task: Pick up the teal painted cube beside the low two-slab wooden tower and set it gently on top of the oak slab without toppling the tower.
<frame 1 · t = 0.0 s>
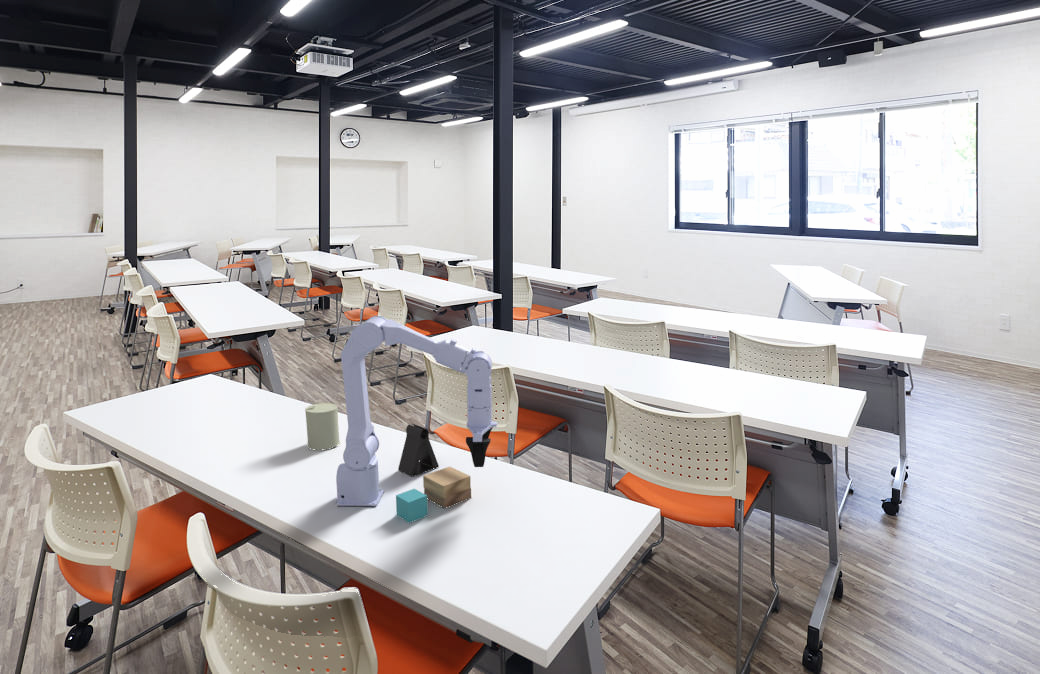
hand: (480, 460, 146), 10 cm above the table, tool pointing down, fingers open, 7 cm apart
can: (323, 445, 183), on the table
phone stand: (418, 469, 166), on the table
tower base: (447, 499, 149), on the table
tower top: (447, 487, 149), point 3 cm above the table
teal cube: (412, 515, 140), on the table
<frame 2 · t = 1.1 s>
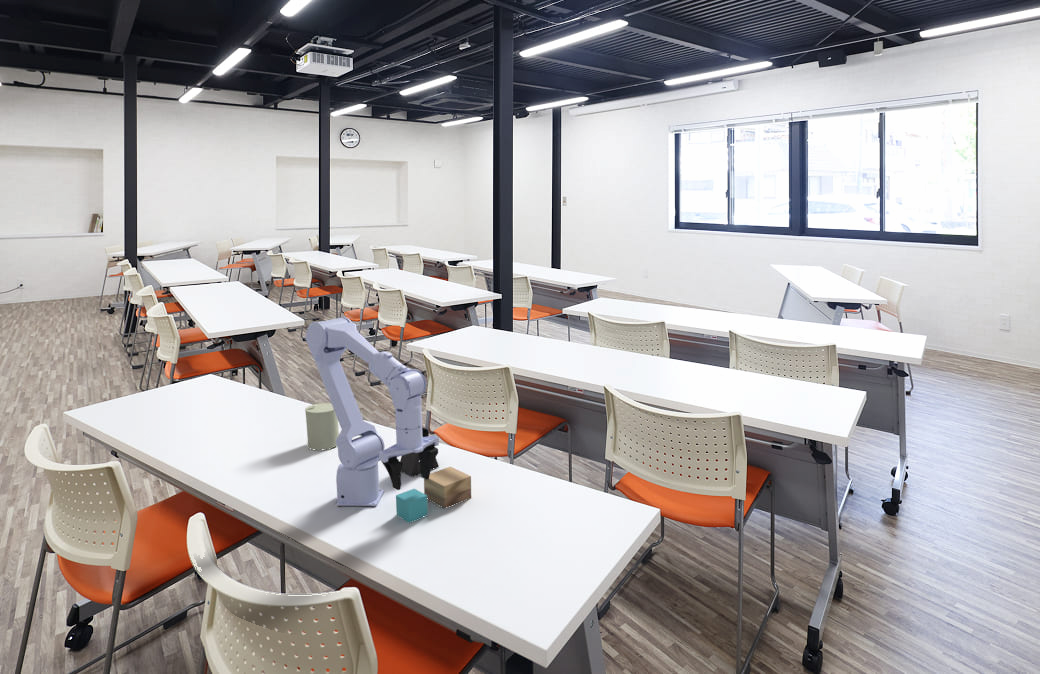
hand: (411, 483, 139), 8 cm above the table, tool pointing down, fingers open, 7 cm apart
nothing on the table moved.
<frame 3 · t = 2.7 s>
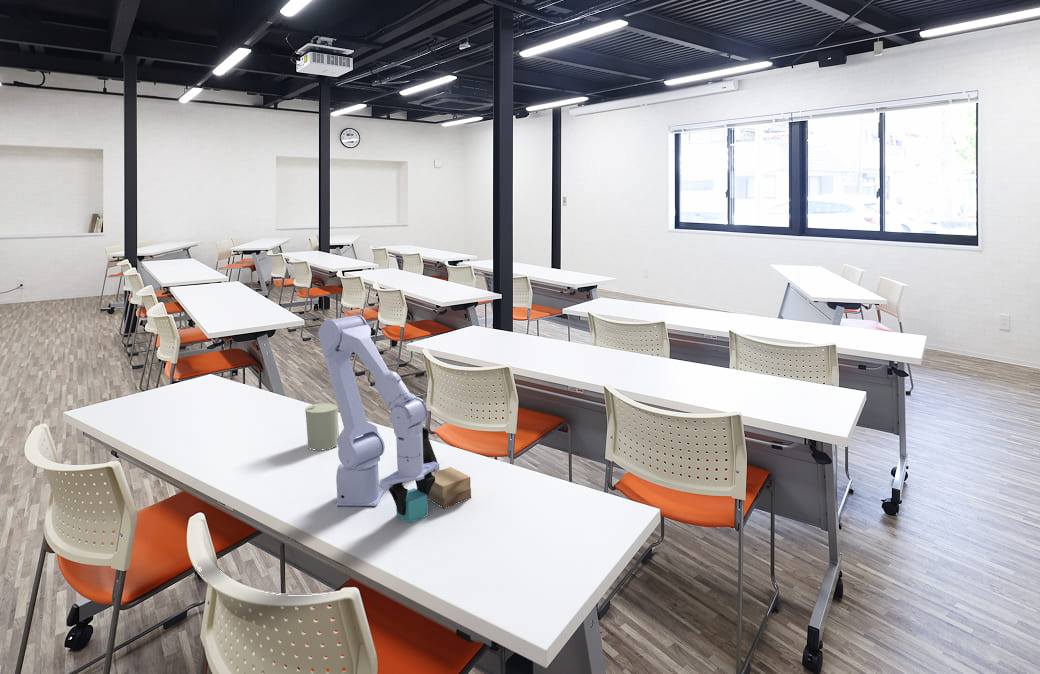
hand: (412, 509, 140), 1 cm above the table, tool pointing down, fingers closed on teal cube, 5 cm apart
tower base: (447, 499, 149), on the table, touching tower top
tower top: (447, 488, 148), point 2 cm above the table, touching tower base
teal cube: (412, 515, 140), on the table, touching gripper
everything else where it was.
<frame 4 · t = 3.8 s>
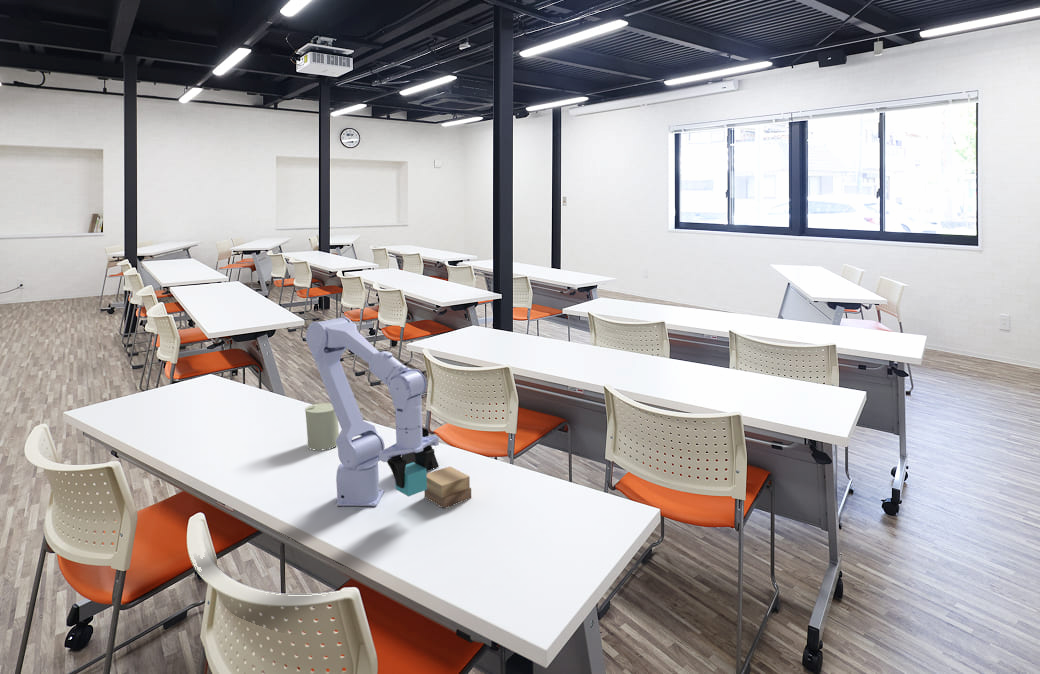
hand: (410, 482, 139), 8 cm above the table, tool pointing down, fingers closed on teal cube, 5 cm apart
teal cube: (411, 489, 139), point 6 cm above the table, touching gripper
everything else where it was.
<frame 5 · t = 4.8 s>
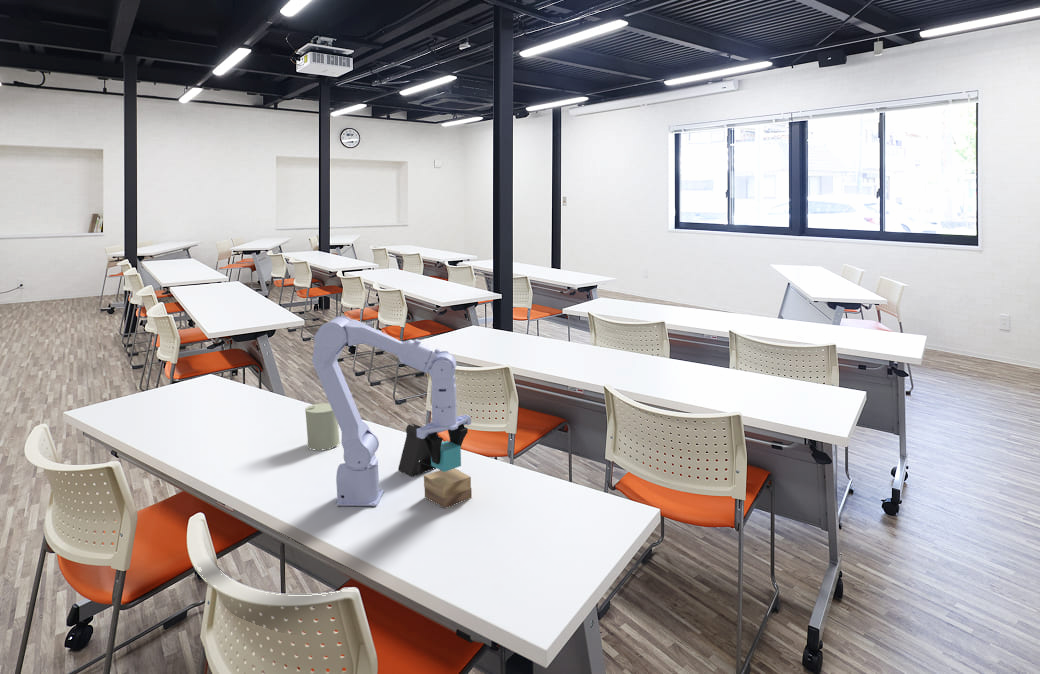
hand: (445, 459, 147), 10 cm above the table, tool pointing down, fingers closed on teal cube, 5 cm apart
teal cube: (446, 465, 147), point 8 cm above the table, touching gripper
everything else where it was.
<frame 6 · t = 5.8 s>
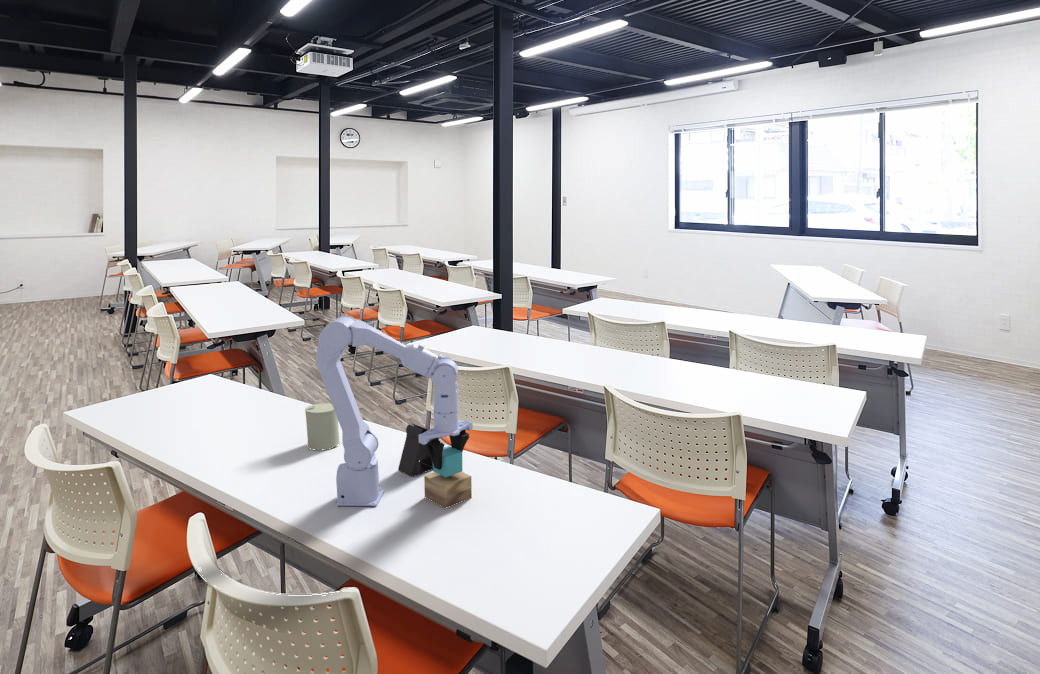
hand: (447, 464, 147), 8 cm above the table, tool pointing down, fingers closed on teal cube, 5 cm apart
teal cube: (447, 471, 148), point 7 cm above the table, touching gripper
everything else where it was.
when the fingers open (8 cm above the table, at t = 6.4 s): teal cube drops 1 cm, resting on tower top.
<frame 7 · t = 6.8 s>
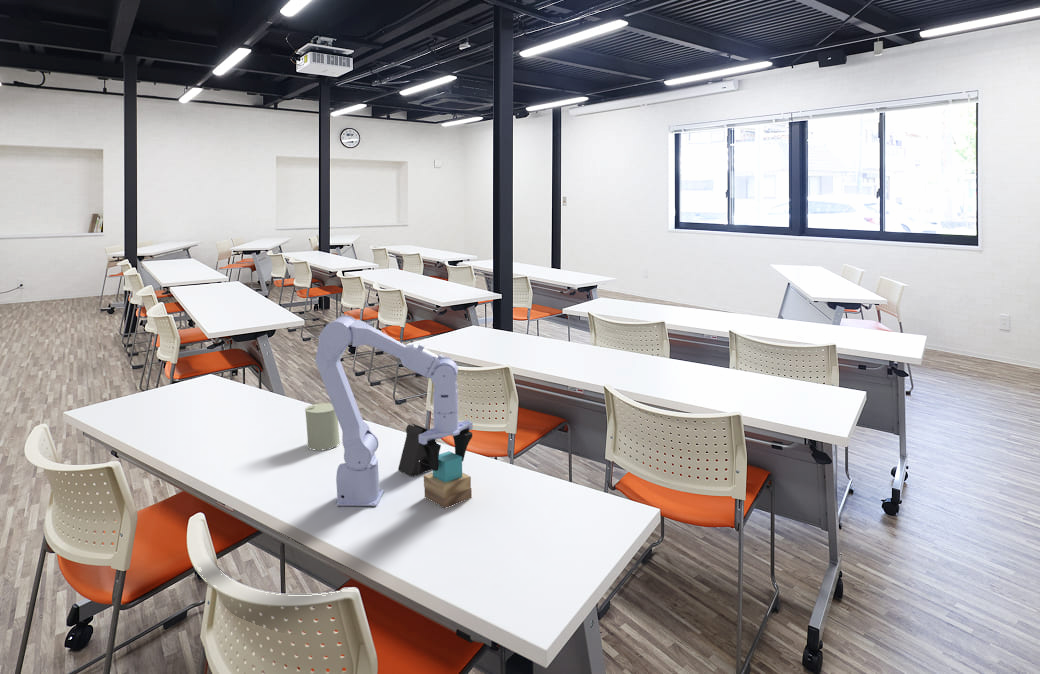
hand: (447, 464, 147), 8 cm above the table, tool pointing down, fingers open, 7 cm apart
tower top: (447, 487, 149), point 3 cm above the table, touching teal cube, tower base
teal cube: (447, 476, 148), point 6 cm above the table, touching tower top
everything else where it was.
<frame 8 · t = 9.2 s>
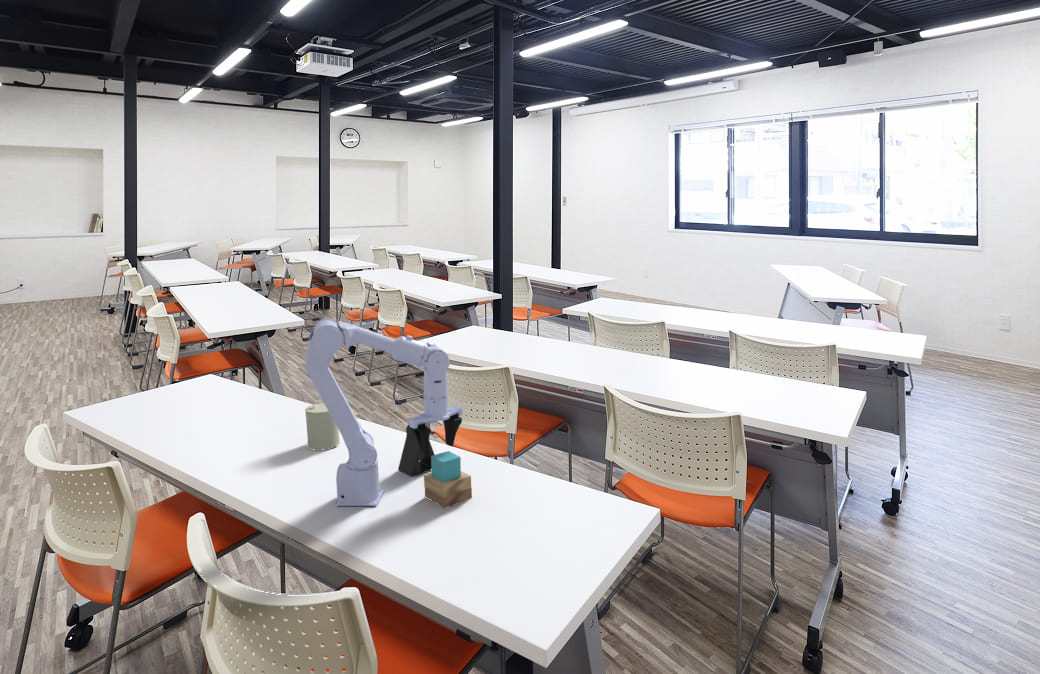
hand: (437, 449, 152), 10 cm above the table, tool pointing down, fingers open, 7 cm apart
nothing on the table moved.
at the end: teal cube 0.4 cm off-centre on the tower top, point 3.0 cm above the tower top's base; tower top tilted 0°; tower base moved 0.6 cm from its start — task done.
